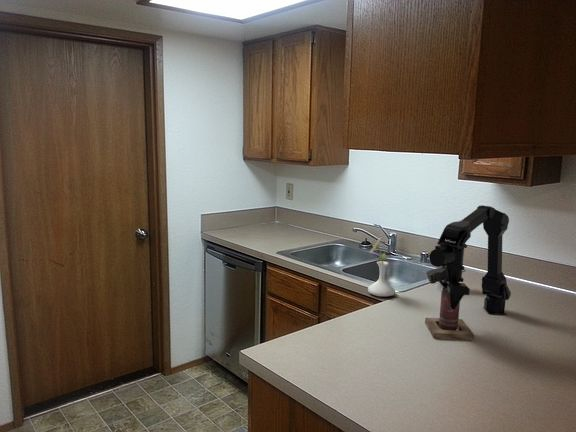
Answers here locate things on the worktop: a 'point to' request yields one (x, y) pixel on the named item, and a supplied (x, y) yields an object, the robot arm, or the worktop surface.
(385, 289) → the flower in vase
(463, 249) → the robot arm
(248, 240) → the worktop surface
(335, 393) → the worktop surface
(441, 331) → the socket block
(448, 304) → the can
